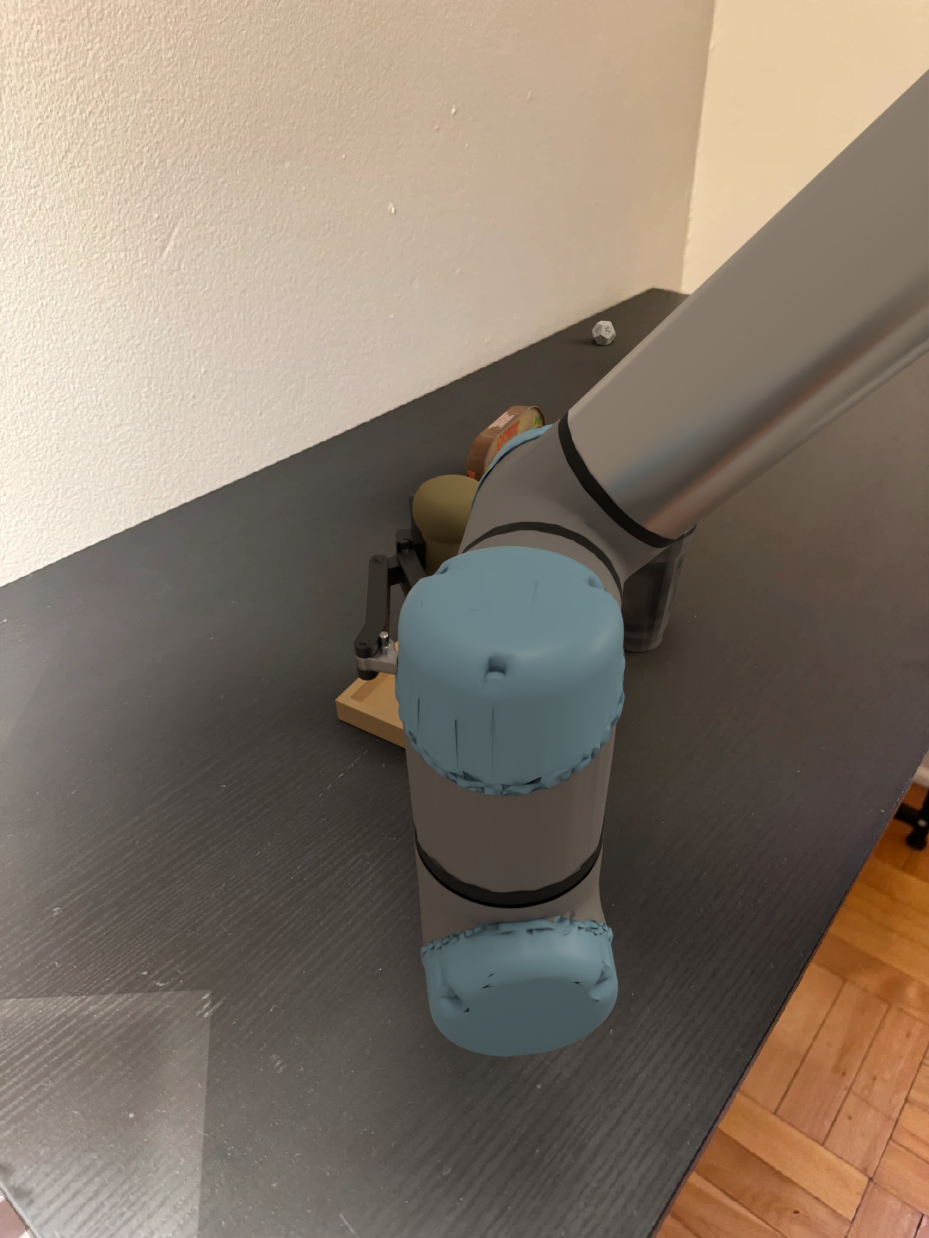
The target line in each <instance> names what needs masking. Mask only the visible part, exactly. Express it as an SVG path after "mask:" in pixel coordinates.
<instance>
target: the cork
mask: <svg viewBox="0 0 929 1238" xmlns="http://www.w3.org/2000/svg"><path fill="white" fill-rule="evenodd" d="M478 484H479V482H478V481H476V480H475V479H472V478H469V477H466V476H465V475H462V474H444V475H439V476H434V477H432V478H430V479H428V480H426V481H424V482H423V483H422V484H420V486H419V487H418V489H417V490H416V492H415V494H414V495H413V496H414V500H413V517H414V520H415V522H416V525H417V526H418V528H419V530H420V531H421V532H422V536H423V538H424V545H425V560H426V565H425V574H426V576H427V577H429V576H433V575H434V574H435V573H436V572H437V571H438V569H439V568H440V566H441V565H442V563H444V562H445V561H447V560H449V559H451V558H453V557H455V556H457V555H458V552H459V549H460V546H461V543H462V539H463V536H464V533H465V530H466V527H467V524H468V520H469V517H470V511H471V505H472V499H473V497H474V495H475V494H476V491H477V487H478Z"/></svg>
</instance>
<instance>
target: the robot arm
mask: <svg viewBox="0 0 929 1238" xmlns="http://www.w3.org/2000/svg"><path fill="white" fill-rule="evenodd" d="M928 352H929V68H928V69H927V70H926V71H925V72H924V73H923V74H922V75H921V76H920V77H919V78H917V79H916V80H915V81H914V82H913V83H912V84H911V85H910V86H909V87H908V88H907V89H906V90H905V91H904V92H903V93H902V94H901V95H899V97H898V98H897V99H895V100H894V101H893V102H892V103H891V104H890V105H889V106H887V108H886V109H885V110H884V111H883V112H882V113H880V115H878V117H876V118H875V119H874V120H873V121H872V122H871V123H870V124H868V126H867V127H866V128H865V129H864V130H863V131H861V132H860V133H859V134H858V135H857V136H856V137H855V138H854V139H853V140H852V141H851V142H850V143H849V144H848V145H847V146H845V148H843V150H842V151H840V152H839V153H838V155H836V156H835V157H834V158H833V159H832V160H831V161H830V162H829V163H828V164H827V165H825V167H823V168H822V169H821V170H820V171H819V172H818V174H816V175H815V176H814V177H813V178H812V179H811V180H810V181H809V182H808V183H807V184H806V185H805V186H803V188H802V189H801V190H799V191H798V192H797V193H796V194H795V195H794V196H793V197H792V198H791V199H790V200H789V201H788V202H787V203H786V204H784V206H782V207H781V208H780V209H779V210H778V211H777V212H776V213H775V214H774V215H773V216H771V218H770V219H768V221H767V222H766V223H765V224H764V225H762V227H760V228H759V229H758V230H757V231H756V232H755V233H754V234H753V235H751V237H750V238H749V239H748V240H746V242H745V243H744V244H742V245H741V246H740V247H739V248H738V249H737V250H735V252H734V253H733V254H732V255H731V256H730V257H728V258H727V260H725V262H723V263H722V264H721V265H720V267H718V268H717V269H716V270H715V271H714V272H713V273H712V274H711V275H710V276H709V277H708V278H707V279H706V280H704V281H703V282H702V283H701V284H700V286H698V287H697V288H696V289H695V290H694V291H693V292H692V293H691V294H690V295H689V296H687V297H686V298H685V299H684V300H683V301H682V302H681V303H680V304H679V305H678V306H677V307H676V308H675V309H674V310H672V312H671V313H670V314H669V315H667V316H666V317H665V319H663V320H662V322H660V323H659V324H658V325H657V326H656V327H655V328H654V329H653V330H652V331H651V332H650V333H649V334H647V336H645V337H644V338H643V339H642V340H641V341H640V342H639V343H638V344H637V345H636V346H635V347H634V348H633V349H632V350H630V352H629V353H627V354H626V356H624V357H623V358H622V359H621V360H620V361H619V362H618V363H617V364H616V365H615V366H613V368H612V369H611V370H610V371H608V373H607V374H606V375H604V376H603V377H602V378H601V379H600V380H599V381H598V382H597V383H596V384H595V385H594V386H592V387H591V389H590V390H589V391H588V392H586V393H585V394H584V395H583V396H582V397H581V398H580V399H579V400H578V401H577V402H576V403H575V404H574V405H573V406H572V407H570V408H569V409H568V411H566V413H564V414H563V415H562V416H561V417H560V418H558V420H557V421H555V422H554V423H551V424H546V426H542V427H537V428H533V429H531V430H528V431H526V432H523V433H521V434H519V435H517V436H515V437H514V438H513V439H511V440H510V441H509V442H507V443H506V444H505V445H504V446H503V447H502V448H501V449H500V451H499V452H498V453H497V455H496V456H495V458H494V459H493V461H492V463H491V465H490V467H489V469H488V470H487V471H486V472H485V474H484V475H483V477H482V478H481V480H480V481H479V484H478V487H477V491H476V494H475V495H474V497H473V499H472V505H471V511H470V517H469V520H468V524H467V527H466V530H465V533H464V536H463V539H462V543H461V546H460V549H459V552H458V555H457V556H455V557H453V558H451V559H449V560H447V561H445V562H444V563H442V565H441V566H440V568H439V569H438V571H437V572H436V573H435V574H434V575H433V576H429V577H427V576H426V574H425V565H426V560H425V545H424V538H423V536H422V532H421V531H420V530H419V528H418V526H417V525H416V522H415V520H414V517H413V500H414V495H412V496H408V503H409V514H410V515H409V516H410V527H411V528H400V529H399V528H398V529H397V530H396V531H395V550H396V551H395V554H394V555H393V556H390V557H388V556H387V555H384V554H375V555H372V556H371V557H370V558H369V561H368V575H367V593H366V594H367V595H366V607H365V608H366V609H365V610H366V611H365V623H364V625H363V627H362V628H361V629H360V631H359V633H358V634H357V636H356V638H355V640H354V641H353V647H354V655H355V663H356V671H357V676H358V678H360V679H362V680H365V681H369V680H373V679H375V678H376V677H377V676H378V674H379V673H380V672H383V673H388V674H394V675H395V697H396V699H397V701H398V703H399V708H398V714H399V718H400V720H401V722H402V723H403V731H404V740H405V748H404V749H405V758H406V767H407V775H408V784H409V792H410V793H409V794H410V803H411V810H412V811H411V812H412V823H413V844H414V855H415V864H416V874H417V885H418V894H419V895H418V897H419V906H420V907H419V909H420V920H421V935H422V936H421V937H422V947H420V956H421V958H420V959H421V965H422V967H424V975H425V982H426V983H425V984H426V990H427V993H426V994H427V1000H428V1007H429V1013H430V1016H431V1020H432V1021H433V1023H434V1025H435V1026H436V1028H437V1029H438V1031H439V1032H440V1033H441V1034H442V1035H443V1036H444V1037H445V1038H447V1040H448V1041H450V1042H451V1043H453V1044H455V1045H456V1046H458V1047H460V1048H462V1049H463V1050H467V1051H470V1052H473V1053H477V1054H480V1055H485V1056H493V1057H504V1058H507V1057H521V1056H522V1057H523V1056H531V1055H538V1054H539V1055H540V1054H544V1053H549V1052H552V1051H554V1050H557V1049H561V1048H564V1047H567V1046H569V1045H571V1044H575V1043H577V1042H579V1041H580V1040H582V1039H583V1038H585V1037H586V1036H588V1035H590V1034H591V1033H592V1032H594V1031H595V1030H596V1029H598V1028H599V1027H600V1026H601V1025H602V1024H603V1023H604V1022H605V1021H606V1020H607V1018H608V1017H609V1016H610V1014H611V1013H612V1011H613V1009H614V1007H615V1005H616V1002H617V999H618V993H619V980H618V976H617V970H616V965H615V959H614V954H613V948H612V942H613V939H614V933H613V930H612V927H610V926H608V925H607V922H606V918H605V914H604V912H603V907H602V903H601V895H600V894H601V893H600V874H601V866H602V856H603V848H604V837H605V821H606V817H605V810H606V803H607V795H608V791H609V790H608V789H609V782H610V776H611V769H612V762H613V755H614V748H615V747H614V746H615V738H616V730H617V723H618V722H619V721H620V718H621V715H622V712H623V708H624V703H625V699H626V694H625V691H624V684H623V683H624V680H625V670H626V656H625V650H624V649H623V638H624V625H623V618H622V614H621V613H622V594H623V585H624V582H625V581H626V580H627V579H628V577H629V576H630V575H632V574H633V573H634V572H636V571H637V570H638V569H640V568H641V567H643V566H644V565H645V564H647V563H648V562H649V561H650V560H652V559H653V558H654V557H656V556H657V555H658V554H660V553H661V552H662V551H663V550H665V549H666V548H667V547H668V546H670V545H671V544H672V543H674V542H675V541H676V540H677V539H679V538H680V537H681V536H682V535H683V534H684V533H685V532H686V531H688V530H689V529H690V528H692V527H693V526H694V525H696V524H697V525H698V523H700V522H701V521H703V520H705V519H706V517H707V518H708V516H709V515H711V514H712V513H714V512H715V511H716V510H718V509H719V508H720V507H722V506H723V505H724V504H726V503H727V502H728V501H729V500H731V499H732V498H734V497H735V496H736V495H737V494H739V493H740V492H741V491H743V490H744V489H746V488H747V487H748V486H750V485H751V484H753V483H754V482H756V481H757V479H759V478H761V477H762V476H763V475H765V474H766V473H767V472H768V471H770V470H771V469H772V468H774V467H775V466H776V465H778V464H779V463H781V462H782V461H783V460H784V459H786V458H788V457H789V456H790V455H791V454H793V453H794V452H795V451H797V450H798V449H799V448H801V447H802V446H803V445H805V444H806V443H808V442H809V441H810V440H812V439H813V438H814V437H815V436H817V435H818V434H820V433H821V432H822V431H823V430H825V429H826V428H828V427H829V426H830V425H832V424H833V423H835V421H837V420H838V419H840V418H841V417H842V416H844V415H845V414H847V413H848V412H849V411H851V410H852V409H853V408H855V407H856V406H857V405H859V404H860V403H861V402H862V401H864V400H865V399H867V398H868V397H870V395H872V394H874V393H875V392H876V391H877V390H878V389H880V388H881V387H883V386H884V385H886V384H887V383H888V382H889V381H891V380H892V379H893V378H895V377H896V376H898V375H899V374H900V373H902V372H903V371H904V370H906V369H907V368H908V367H910V366H911V365H912V364H914V363H915V362H917V361H918V360H919V359H920V358H922V357H923V356H925V355H926V354H927V353H928ZM395 585H399V586H400V588H401V591H402V593H403V596H404V598H405V600H404V602H403V603H402V606H401V608H400V612H399V617H398V624H397V641H398V651H396V649H395V643H396V642H395V641H394V639H392V638H390V635H391V633H390V631H391V593H392V592H391V590H392V589H391V587H392V586H395Z"/></svg>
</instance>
